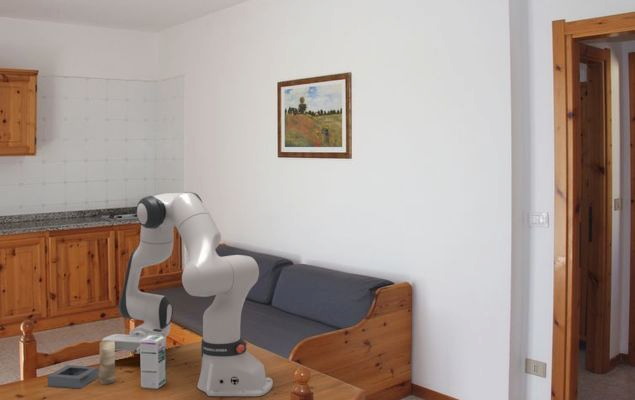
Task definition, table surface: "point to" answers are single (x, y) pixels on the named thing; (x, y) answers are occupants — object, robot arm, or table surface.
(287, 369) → the table surface
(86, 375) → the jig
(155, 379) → the syrup box
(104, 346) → the peg
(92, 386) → the table surface
